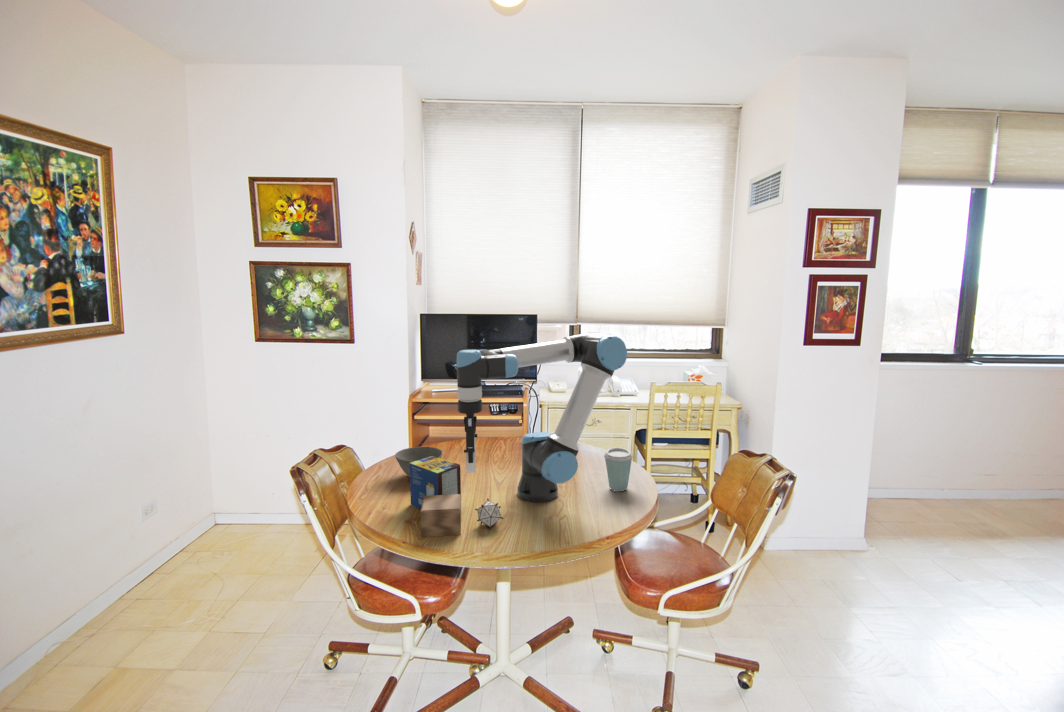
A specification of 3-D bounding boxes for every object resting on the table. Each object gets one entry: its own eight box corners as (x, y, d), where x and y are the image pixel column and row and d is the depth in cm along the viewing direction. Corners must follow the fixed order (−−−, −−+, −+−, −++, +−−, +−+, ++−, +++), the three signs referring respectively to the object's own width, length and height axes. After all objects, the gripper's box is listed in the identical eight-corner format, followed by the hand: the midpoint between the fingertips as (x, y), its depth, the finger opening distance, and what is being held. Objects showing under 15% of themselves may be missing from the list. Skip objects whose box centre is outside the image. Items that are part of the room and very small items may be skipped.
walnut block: (461, 517, 165) (460, 493, 164) (460, 534, 153) (460, 509, 152) (424, 519, 164) (423, 495, 163) (421, 536, 152) (420, 511, 151)
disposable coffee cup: (633, 495, 184) (635, 455, 182) (604, 494, 184) (605, 455, 183) (629, 484, 194) (630, 447, 193) (602, 483, 195) (602, 446, 193)
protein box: (433, 495, 183) (432, 455, 181) (461, 507, 173) (461, 464, 171) (409, 505, 175) (408, 462, 173) (438, 517, 165) (437, 472, 163)
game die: (486, 534, 161) (483, 503, 166) (509, 528, 159) (505, 497, 164) (471, 531, 154) (469, 498, 159) (495, 525, 152) (492, 492, 156)
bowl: (417, 489, 188) (416, 464, 187) (386, 478, 200) (385, 454, 198) (453, 475, 203) (452, 451, 202) (422, 465, 214) (422, 443, 213)
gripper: (459, 391, 167) (461, 452, 170) (455, 409, 143) (457, 479, 145) (481, 391, 168) (483, 451, 171) (481, 408, 143) (483, 478, 146)
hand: (471, 464), depth 158 cm, fingers open, 13 cm apart
